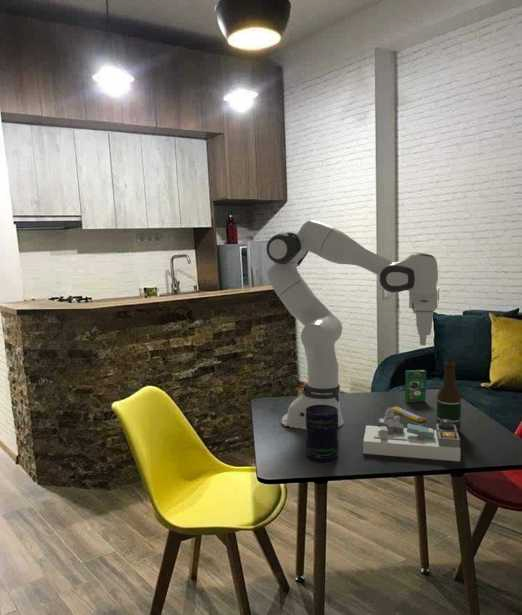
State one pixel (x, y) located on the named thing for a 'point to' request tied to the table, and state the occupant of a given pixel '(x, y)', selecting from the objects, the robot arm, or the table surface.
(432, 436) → the rocker teal
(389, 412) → the grey rounded piece
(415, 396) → the coffee box
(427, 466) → the table surface
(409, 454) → the console
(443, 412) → the beer bottle
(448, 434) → the button orange
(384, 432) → the slide knob
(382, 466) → the table surface
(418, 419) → the candy bar
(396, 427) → the rocker charcoal
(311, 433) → the storage jar
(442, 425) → the button black
